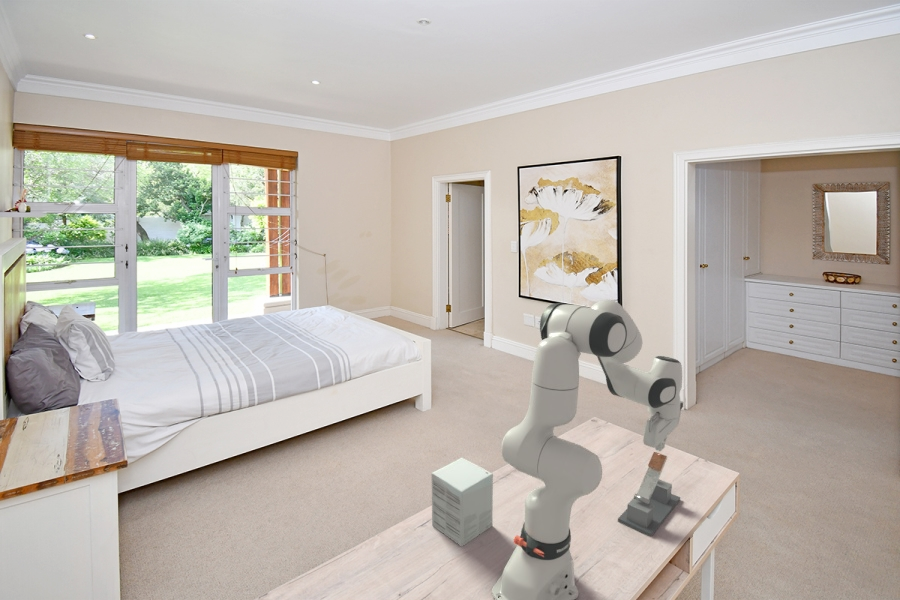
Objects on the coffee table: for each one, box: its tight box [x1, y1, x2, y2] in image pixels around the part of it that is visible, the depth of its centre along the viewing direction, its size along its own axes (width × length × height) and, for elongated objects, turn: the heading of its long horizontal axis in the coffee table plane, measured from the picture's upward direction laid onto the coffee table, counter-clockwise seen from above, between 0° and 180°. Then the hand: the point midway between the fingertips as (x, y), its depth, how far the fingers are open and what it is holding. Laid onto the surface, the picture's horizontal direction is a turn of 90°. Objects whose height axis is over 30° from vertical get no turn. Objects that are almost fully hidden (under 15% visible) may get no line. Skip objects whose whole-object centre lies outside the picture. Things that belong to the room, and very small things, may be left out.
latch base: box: [617, 478, 681, 537], centre depth 147 cm, size 24×10×9 cm, turn 136°
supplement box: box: [431, 457, 494, 547], centre depth 140 cm, size 13×13×18 cm
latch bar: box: [633, 451, 668, 505], centre depth 145 cm, size 17×4×2 cm
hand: (659, 449), depth 147 cm, fingers closed
